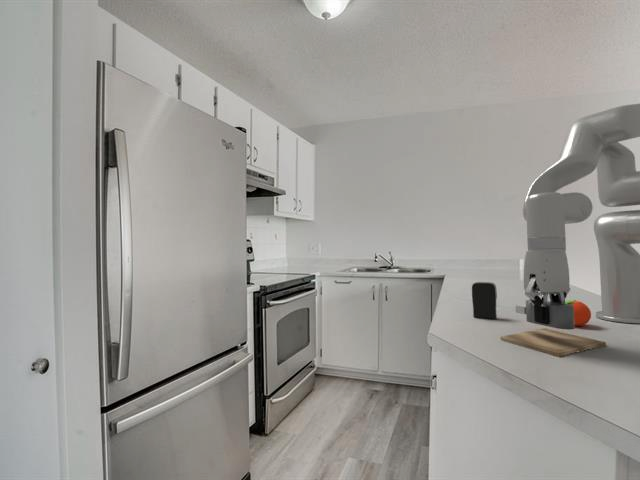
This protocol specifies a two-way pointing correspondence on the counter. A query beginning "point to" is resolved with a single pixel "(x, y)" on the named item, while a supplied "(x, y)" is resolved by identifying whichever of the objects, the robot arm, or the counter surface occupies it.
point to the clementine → (580, 313)
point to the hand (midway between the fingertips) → (549, 321)
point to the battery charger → (484, 300)
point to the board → (553, 341)
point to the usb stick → (551, 314)
